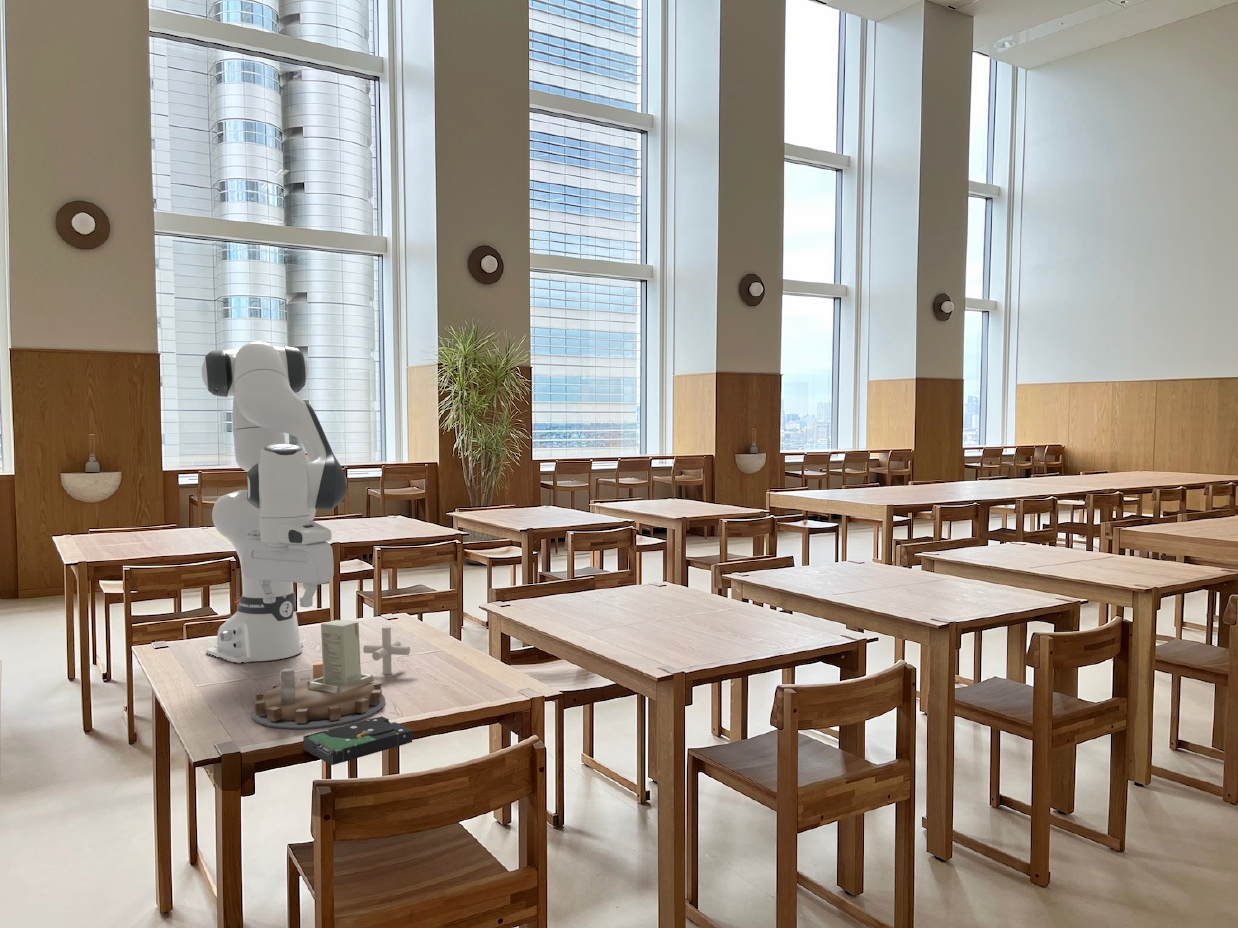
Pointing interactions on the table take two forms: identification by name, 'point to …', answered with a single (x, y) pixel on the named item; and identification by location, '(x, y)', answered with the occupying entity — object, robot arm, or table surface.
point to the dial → (316, 698)
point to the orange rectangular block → (317, 669)
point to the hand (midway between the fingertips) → (287, 604)
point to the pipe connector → (386, 649)
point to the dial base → (318, 723)
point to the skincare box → (340, 652)
